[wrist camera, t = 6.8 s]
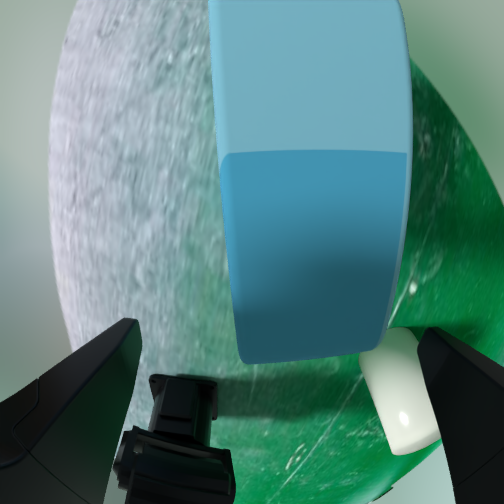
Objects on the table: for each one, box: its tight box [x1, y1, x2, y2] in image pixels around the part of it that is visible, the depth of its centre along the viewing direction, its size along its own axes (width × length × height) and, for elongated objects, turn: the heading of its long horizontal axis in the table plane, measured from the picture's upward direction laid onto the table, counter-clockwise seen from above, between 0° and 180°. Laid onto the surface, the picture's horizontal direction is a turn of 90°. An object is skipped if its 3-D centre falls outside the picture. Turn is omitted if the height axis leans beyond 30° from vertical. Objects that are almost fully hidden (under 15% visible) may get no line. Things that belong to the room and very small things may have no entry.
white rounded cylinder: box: [358, 327, 441, 455], centre depth 20 cm, size 6×6×10 cm
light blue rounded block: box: [208, 0, 413, 364], centre depth 11 cm, size 12×4×12 cm, turn 3°
